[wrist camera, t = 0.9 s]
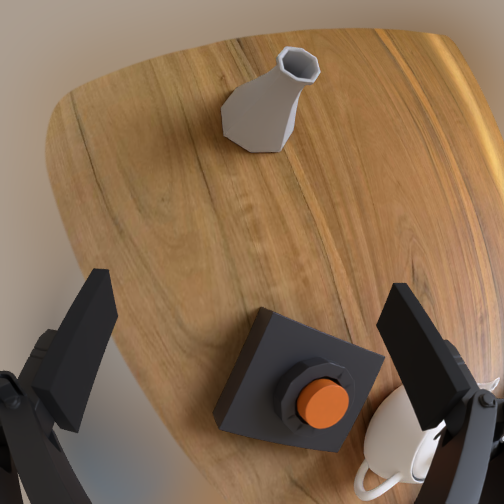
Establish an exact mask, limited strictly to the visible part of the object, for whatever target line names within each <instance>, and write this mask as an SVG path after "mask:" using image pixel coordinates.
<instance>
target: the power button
mask: <svg viewBox="0 0 504 504" xmlns="http://www.w3.org/2000/svg"><path fill="white" fill-rule="evenodd" d="M348 403H349V398H348V394H347V392H346V391H345V389H344V388H342V387H341V386H339V385H338V384H336V383H334V382H333V381H331V380H329V379H318V380H315V381H313V382H311V383H309V384H308V385H307V386H306V387H305V388H304V389H303V390H302V391H301V393H300V394H299V397H298V400H297V411H298V413H299V415H300V416H301V417H302V418H303V419H304V420H305V421H306V422H307V423H308V424H309V425H310V426H312V427H314V428H318V429H323V428H328V427H330V426H332V425H334V424H336V423H337V422H338V421H339V420H340V419H341V418H342V417H343V416H344V414H345V412H346V410H347V408H348Z"/></svg>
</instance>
